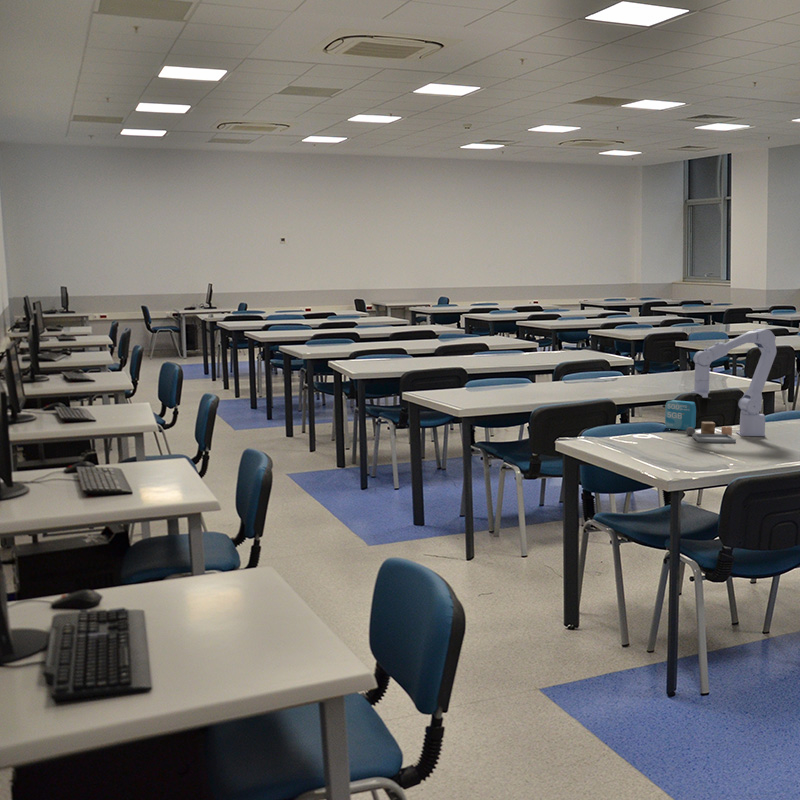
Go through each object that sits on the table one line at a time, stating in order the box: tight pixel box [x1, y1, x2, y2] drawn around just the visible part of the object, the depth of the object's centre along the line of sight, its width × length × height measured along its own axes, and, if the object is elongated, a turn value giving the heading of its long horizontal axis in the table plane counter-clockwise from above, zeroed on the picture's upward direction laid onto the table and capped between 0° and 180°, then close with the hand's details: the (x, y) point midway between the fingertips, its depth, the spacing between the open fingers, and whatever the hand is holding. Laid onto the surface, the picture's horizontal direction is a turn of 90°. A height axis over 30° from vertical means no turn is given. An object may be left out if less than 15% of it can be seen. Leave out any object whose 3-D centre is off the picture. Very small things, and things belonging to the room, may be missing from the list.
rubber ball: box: [685, 427, 696, 436], centre depth 346 cm, size 4×4×4 cm
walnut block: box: [700, 421, 716, 434], centre depth 344 cm, size 4×4×6 cm
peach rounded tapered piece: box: [720, 425, 733, 437], centre depth 342 cm, size 4×4×4 cm
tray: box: [692, 433, 737, 444], centre depth 334 cm, size 14×12×2 cm
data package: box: [664, 399, 697, 431], centre depth 362 cm, size 12×4×12 cm, turn 46°
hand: (701, 412), depth 345 cm, fingers open, 7 cm apart
